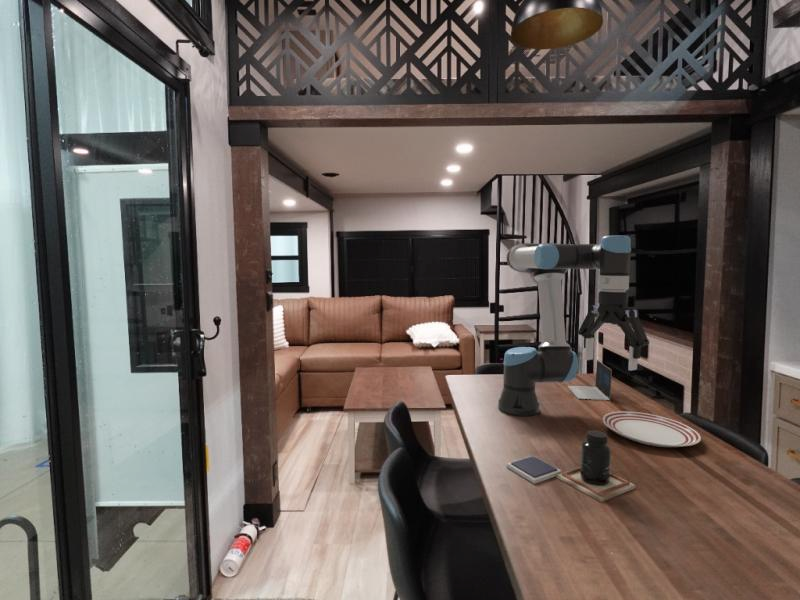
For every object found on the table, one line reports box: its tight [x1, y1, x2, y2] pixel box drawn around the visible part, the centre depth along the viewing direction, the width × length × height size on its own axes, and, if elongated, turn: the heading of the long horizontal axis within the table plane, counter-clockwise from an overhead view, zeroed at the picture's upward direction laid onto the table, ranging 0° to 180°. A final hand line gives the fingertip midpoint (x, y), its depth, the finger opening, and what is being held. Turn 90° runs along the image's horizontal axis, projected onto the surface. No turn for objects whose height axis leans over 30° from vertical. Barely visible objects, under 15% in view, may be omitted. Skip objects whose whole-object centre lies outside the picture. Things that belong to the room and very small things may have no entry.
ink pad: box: [506, 455, 563, 485], centre depth 113 cm, size 10×10×1 cm
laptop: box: [567, 359, 613, 402], centre depth 180 cm, size 18×12×13 cm
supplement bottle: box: [580, 430, 612, 486], centre depth 107 cm, size 7×7×12 cm
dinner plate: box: [602, 411, 702, 448], centre depth 137 cm, size 27×27×3 cm
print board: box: [556, 465, 636, 503], centre depth 107 cm, size 13×13×1 cm
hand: (609, 364), depth 121 cm, fingers open, 13 cm apart
